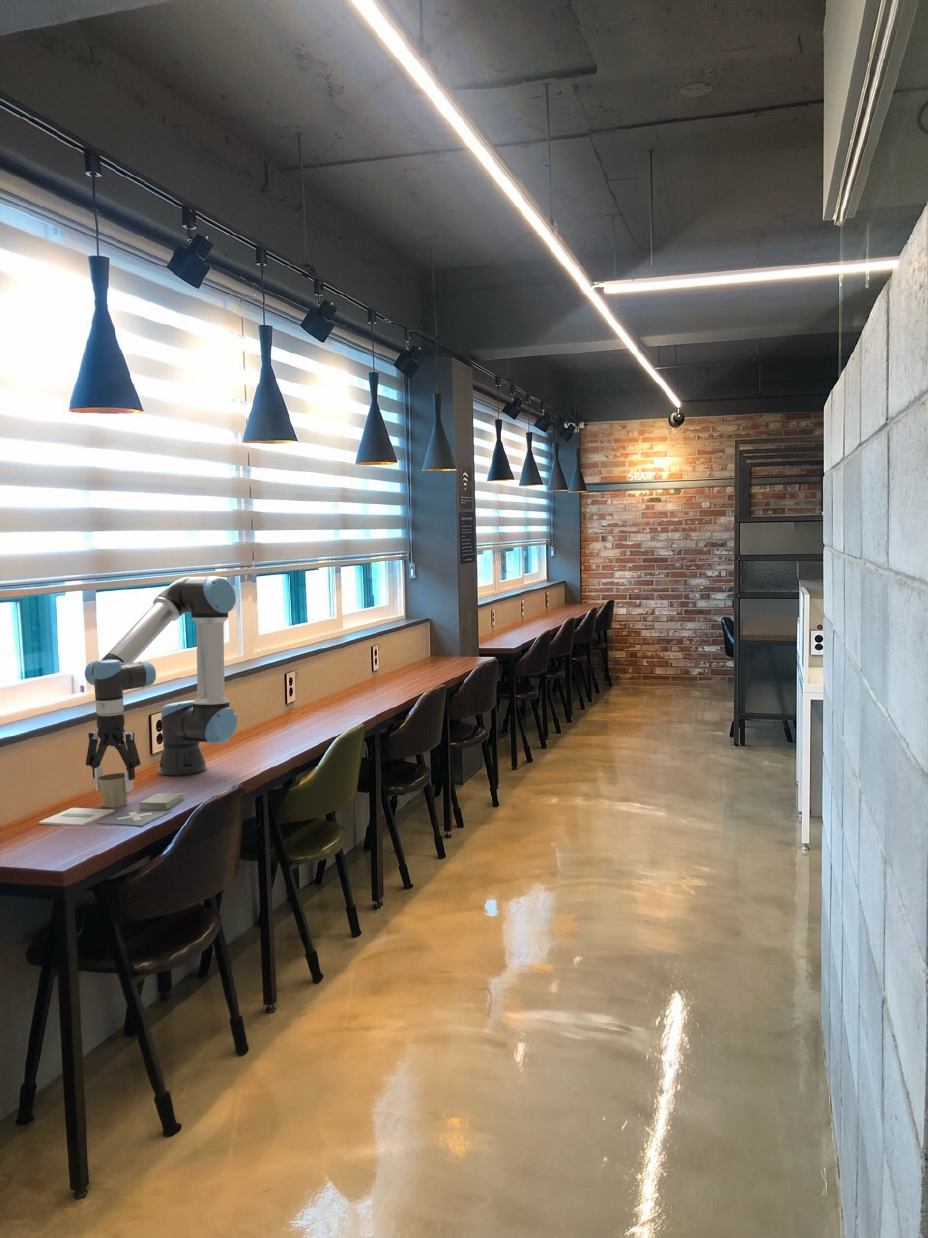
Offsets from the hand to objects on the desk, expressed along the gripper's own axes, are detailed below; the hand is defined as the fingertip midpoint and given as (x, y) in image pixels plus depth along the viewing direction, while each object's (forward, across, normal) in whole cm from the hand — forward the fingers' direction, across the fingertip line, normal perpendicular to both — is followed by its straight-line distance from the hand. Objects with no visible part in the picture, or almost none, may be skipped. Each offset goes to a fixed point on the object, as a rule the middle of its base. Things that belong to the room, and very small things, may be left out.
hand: (114, 790), depth 276 cm
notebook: (+4, +14, +2) cm, 15 cm away
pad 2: (+5, +14, -11) cm, 18 cm away
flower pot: (+5, 0, 0) cm, 5 cm away
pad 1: (+5, -3, -13) cm, 14 cm away
